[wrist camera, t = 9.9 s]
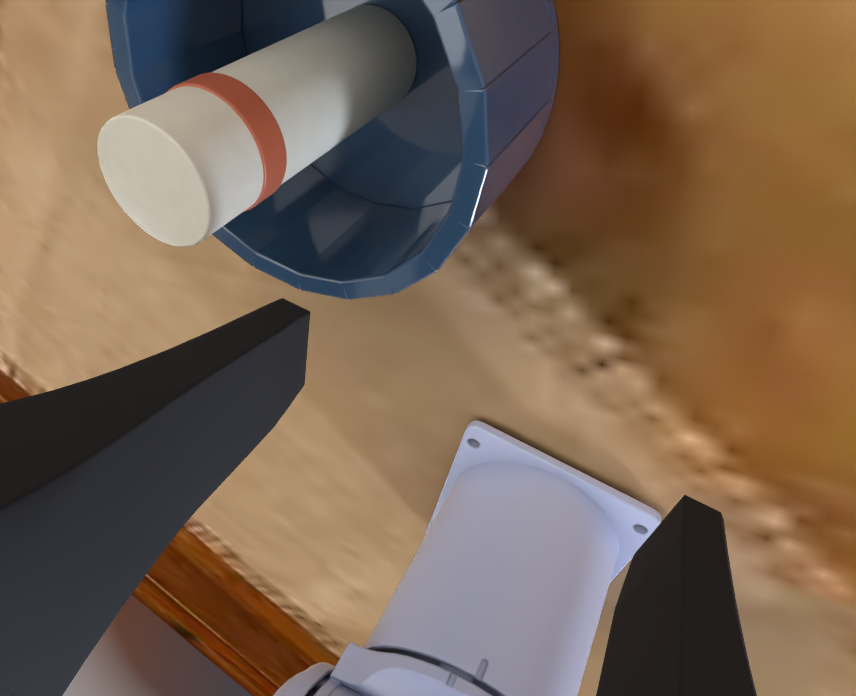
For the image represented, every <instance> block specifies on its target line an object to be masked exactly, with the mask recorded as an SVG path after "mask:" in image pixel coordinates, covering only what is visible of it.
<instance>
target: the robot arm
mask: <svg viewBox="0 0 856 696" xmlns="http://www.w3.org/2000/svg"><path fill="white" fill-rule="evenodd" d="M309 320H310V311H308V310H306V309H304V308H301V307H299V306H297V305H295V304H293V303H291V302H289V301H287V300H285V299H283V298H282V299H279V300H277V301H274V302H272V303H270V304H268V305H266V306H263V307H261V308H259V309H257V310H255V311H253V312H251V313H248V314H246V315H244V316H242V317H240V318H238V319H236V320H233V321H231V322H229V323H227V324H225V325H223V326H220V327H218V328H216V329H214V330H212V331H210V332H207V333H205V334H203V335H201V336H198V337H196V338H194V339H191V340H189V341H187V342H185V343H182V344H180V345H178V346H175V347H173V348H171V349H168V350H166V351H164V352H161V353H159V354H156V355H153V356H151V357H148V358H146V359H143V360H140V361H138V362H135V363H133V364H130V365H128V366H125V367H122V368H120V369H117V370H114V371H112V372H109V373H106V374H103V375H100V376H97V377H94V378H91V379H88V380H85V381H82V382H79V383H76V384H72V385H69V386H66V387H63V388H59V389H56V390H53V391H49V392H45V393H41V394H38V395H34V396H30V397H26V398H22V399H18V400H14V401H10V402H6V403H2V404H0V696H62V695H63V693H64V692H65V691H66V689H67V687H68V686H69V684H70V683H71V681H72V680H73V678H74V676H75V675H76V674H77V672H78V671H79V669H80V668H81V666H82V664H83V663H84V661H85V660H86V658H87V657H88V656H89V654H90V653H91V651H92V650H93V648H94V647H95V645H96V644H97V643H98V641H99V640H100V638H101V637H102V635H103V634H104V632H105V631H106V629H107V628H108V627H109V625H110V623H111V622H112V621H113V619H114V618H115V616H116V615H117V614H118V612H119V611H120V609H121V608H122V607H123V605H124V604H125V602H126V601H127V600H128V598H129V597H130V596H131V594H132V593H133V592H134V590H135V589H136V587H137V586H138V585H139V583H140V582H141V581H142V579H143V578H144V576H145V575H146V574H147V572H148V571H149V570H150V568H151V567H152V566H153V564H154V563H155V562H156V560H157V559H158V558H159V556H160V555H161V554H162V552H163V551H164V550H165V549H166V547H167V546H168V545H169V543H170V542H171V541H172V539H173V538H174V537H175V535H176V534H177V533H178V532H179V530H180V529H181V528H182V527H183V525H184V524H185V523H186V522H187V521H188V520H189V518H190V517H191V516H192V515H193V514H194V513H195V511H196V510H197V509H198V508H199V507H200V506H201V505H202V504H203V503H204V502H205V501H206V499H207V498H208V497H209V496H210V495H211V494H212V493H213V492H214V491H215V490H216V489H217V488H218V487H219V486H220V485H221V483H222V482H223V481H224V480H225V479H226V478H227V477H228V476H229V475H230V474H231V473H232V472H233V471H234V470H235V468H236V467H237V466H238V465H239V464H240V463H241V462H242V461H243V460H244V459H245V458H246V457H247V456H248V455H249V453H250V452H251V451H252V450H253V449H254V448H255V447H256V446H257V445H258V444H259V443H260V442H261V440H262V439H263V438H264V437H265V436H266V435H267V434H268V433H269V432H270V431H271V429H272V428H273V427H274V426H275V425H276V423H277V422H278V421H279V419H280V418H281V417H282V415H283V414H284V413H285V411H286V410H287V409H288V407H289V406H290V404H291V403H292V402H293V400H294V399H295V397H296V396H297V394H298V393H299V391H300V390H301V389H302V387H303V386H304V383H305V370H306V358H307V345H308V332H309ZM474 439H475V440H474ZM661 519H662V518H661V515H660V514H659V512H658V511H656V510H655V509H653V508H652V507H650V506H648V505H646V504H644V503H642V502H640V501H638V500H636V499H634V498H632V497H630V496H628V495H626V494H624V493H622V492H620V491H618V490H616V489H614V488H612V487H610V486H608V485H606V484H604V483H602V482H600V481H598V480H596V479H594V478H592V477H590V476H588V475H586V474H584V473H582V472H580V471H578V470H577V469H575V468H573V467H571V466H569V465H567V464H565V463H563V462H561V461H559V460H557V459H555V458H553V457H551V456H549V455H547V454H545V453H543V452H541V451H539V450H537V449H535V448H533V447H531V446H529V445H527V444H525V443H523V442H521V441H519V440H517V439H515V438H513V437H511V436H509V435H507V434H505V433H503V432H501V431H499V430H498V429H496V428H494V427H492V426H490V425H488V424H486V423H484V422H481V421H472V422H470V423H469V425H468V426H467V428H466V430H465V433H464V435H463V438H462V440H461V443H460V446H459V448H458V451H457V453H456V456H455V458H454V461H453V464H452V466H451V469H450V471H449V474H448V476H447V479H446V481H445V484H444V487H443V489H442V492H441V494H440V497H439V499H438V502H437V505H436V507H435V510H434V512H433V515H432V517H431V520H430V523H429V525H428V528H427V530H426V533H425V538H424V540H423V541H422V543H421V545H420V547H419V549H418V550H417V552H416V554H415V556H414V558H413V559H412V561H411V563H410V565H409V567H408V568H407V570H406V572H405V574H404V576H403V578H402V579H401V581H400V583H399V585H398V587H397V588H396V590H395V592H394V594H393V596H392V597H391V599H390V601H389V603H388V605H387V607H386V608H385V610H384V612H383V614H382V616H381V617H380V619H379V621H378V623H377V625H376V626H375V628H374V630H373V632H372V634H371V635H370V637H369V639H368V641H367V643H366V645H365V646H364V647H361V646H359V645H357V644H355V643H352V642H351V643H349V644H348V646H347V648H346V649H345V651H344V653H343V654H342V656H341V658H340V660H339V661H338V663H337V665H336V667H334V666H333V665H331V664H329V663H325V662H320V663H317V664H315V665H312V666H311V667H309V668H308V669H306V670H305V671H303V672H301V673H298V674H296V675H295V676H293V677H292V678H290V679H289V680H288V681H287V682H285V683H284V684H283V685H282V686H281V687H280V688H279V689H278V691H277V692H276V693H275V694H274V695H273V696H577V694H578V691H579V688H580V684H581V681H582V677H583V674H584V670H585V667H586V663H587V660H588V656H589V653H590V649H591V646H592V642H593V639H594V635H595V632H596V629H597V625H598V622H599V618H600V615H601V611H602V608H603V604H604V601H605V597H606V594H607V590H608V587H609V583H610V582H611V581H612V580H613V579H614V578H615V577H616V576H617V574H618V573H619V572H620V571H621V570H622V569H623V568H624V567H625V565H626V564H627V563H628V562H629V561H630V560H631V559H632V558H633V559H632V561H631V564H630V567H629V570H628V573H627V575H626V578H625V581H624V584H623V587H622V590H621V593H620V596H619V599H618V602H617V605H616V608H615V612H614V616H613V621H612V625H611V630H610V634H609V639H608V643H607V648H606V653H605V657H604V662H603V667H602V671H601V676H600V681H599V685H598V690H597V695H596V696H757V694H756V690H755V686H754V682H753V678H752V674H751V670H750V666H749V661H748V657H747V652H746V648H745V643H744V638H743V634H742V629H741V624H740V620H739V615H738V609H737V604H736V599H735V593H734V587H733V581H732V575H731V569H730V563H729V556H728V549H727V542H726V535H725V527H724V519H723V517H722V514H721V512H719V511H717V510H715V509H713V508H711V507H708V506H706V505H704V504H702V503H700V502H698V501H696V500H694V499H692V498H690V497H688V496H686V495H684V496H683V497H682V499H681V500H680V501H679V502H678V503H677V504H676V506H675V507H674V508H673V509H672V510H671V511H670V513H669V514H668V515H667V516H666V517H665V518H664V520H663V521H662V522H661ZM639 524H640V525H639ZM642 525H643V526H642Z"/></svg>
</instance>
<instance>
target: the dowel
mask: <svg viewBox="0 0 856 696" xmlns="http://www.w3.org/2000/svg"><path fill="white" fill-rule="evenodd" d="M416 64H417V61H416V53H415V48H414V45H413V42H412V39H411V37H410V35H409V33H408V31H407V30H406V28H405V27H404V25H403V24H402V23H401V22H400V21H399V19H398V18H397V17H395V16H394V15H393V14H392V13H390V12H389V11H387V10H385V9H383V8H381V7H378V6H375V5H360V6H356V7H354V8H351V9H349V10H347V11H345V12H343V13H340V14H338V15H336V16H334V17H332V18H329V19H327V20H325V21H323V22H321V23H318V24H316V25H314V26H312V27H310V28H307V29H305V30H303V31H301V32H299V33H296V34H294V35H292V36H290V37H288V38H285V39H283V40H281V41H279V42H277V43H274V44H272V45H270V46H268V47H266V48H263V49H261V50H259V51H257V52H255V53H252V54H250V55H248V56H246V57H244V58H241V59H239V60H237V61H235V62H233V63H230V64H228V65H226V66H224V67H222V68H219V69H217V70H215V71H213V72H211V73H203V74H200V75H197V76H195V77H193V78H191V79H188V80H186V81H184V82H182V83H180V84H177V85H175V86H173V87H172V88H170V89H169V90H168V91H167V92H166V93H164V94H162V95H160V96H158V97H156V98H154V99H151V100H149V101H147V102H145V103H143V104H140V105H138V106H136V107H134V108H132V109H129V110H127V111H125V112H123V113H121V114H118V115H116V116H114V117H112V118H111V119H109V120H108V121H107V122H106V123H105V124H104V125H103V127H102V129H101V130H100V133H99V136H98V142H97V153H98V160H99V164H100V168H101V171H102V174H103V177H104V179H105V181H106V184H107V186H108V188H109V190H110V191H111V193H112V195H113V196H114V198H115V200H116V201H117V202H118V204H119V205H120V207H121V208H122V209H123V210H124V212H125V213H126V214H127V215H128V216H129V217H130V218H131V219H132V221H134V222H135V223H136V224H137V225H138V226H139V227H140V228H141V229H143V230H144V231H145V232H146V233H148V234H149V235H151V236H152V237H154V238H156V239H157V240H159V241H161V242H164V243H166V244H169V245H172V246H177V247H188V246H193V245H196V244H198V243H200V242H201V241H203V240H204V239H206V238H207V237H208V236H210V235H211V234H213V233H214V232H215V231H217V230H218V229H220V228H221V227H222V226H224V225H225V224H227V223H228V222H229V221H231V220H232V219H234V218H235V217H236V216H238V215H239V214H241V213H242V212H244V211H247V210H250V209H252V208H253V207H255V206H256V205H258V204H259V203H260V202H262V201H263V200H265V199H266V198H267V197H269V196H270V195H272V194H273V193H274V192H275V191H276V190H277V189H278V188H279V186H280V185H281V184H283V183H284V182H286V181H287V180H288V179H290V178H291V177H293V176H294V175H295V174H297V173H298V172H300V171H301V170H302V169H304V168H305V167H307V166H308V165H309V164H311V163H312V162H314V161H315V160H316V159H318V158H319V157H321V156H322V155H323V154H325V153H326V152H328V151H329V150H330V149H332V148H333V147H335V146H336V145H337V144H339V143H340V142H342V141H343V140H344V139H346V138H347V137H349V136H350V135H351V134H353V133H354V132H356V131H357V130H358V129H360V128H361V127H363V126H364V125H365V124H367V123H368V122H370V121H371V120H372V119H374V118H375V117H377V116H378V115H379V114H381V113H382V112H384V111H385V110H386V109H388V108H389V107H391V106H392V105H393V104H395V103H396V102H398V101H399V100H400V99H402V98H403V97H404V96H405V95H406V94H407V93H408V91H409V90H410V88H411V86H412V84H413V82H414V79H415V75H416Z"/></svg>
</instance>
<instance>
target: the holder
mask: <svg viewBox="0 0 856 696" xmlns="http://www.w3.org/2000/svg"><path fill="white" fill-rule="evenodd" d="M106 3H107V4H106V12H107V18H108V25H109V32H110V39H111V46H112V53H113V60H114V67H115V68H116V69H117V70H116V74H117V77H118V79H119V82H120V85H121V88H122V90H123V93H124V96H125V98H126V101H127V104H128V107H129V109H132V108H134V107H136V106H138V105H140V104H143V103H145V102H147V101H149V100H151V99H154V98H156V97H158V96H160V95H162V94H164V93H166V92H167V91H168V90H169V89H170V88H172V87H173V86H175V85H177V84H180V83H182V82H184V81H186V80H188V79H191V78H193V77H195V76H197V75H200V74H203V73H211V72H213V71H215V70H217V69H219V68H222V67H224V66H226V65H228V64H230V63H233V62H235V61H237V60H239V59H241V58H244V57H246V56H248V55H250V54H252V53H255V52H257V51H259V50H261V49H263V48H266V47H268V46H270V45H272V44H274V43H277V42H279V41H281V40H283V39H285V38H288V37H290V36H292V35H294V34H296V33H299V32H301V31H303V30H305V29H307V28H310V27H312V26H314V25H316V24H318V23H321V22H323V21H325V20H327V19H329V18H332V17H334V16H336V15H338V14H340V13H343V12H345V11H347V10H349V9H351V8H354V7H356V6H360V5H375V6H378V7H381V8H383V9H385V10H387V11H389V12H390V13H392V14H393V15H394V16H395V17H397V18H398V19H399V21H400V22H401V23H402V24H403V25H404V27H405V28H406V30H407V31H408V33H409V35H410V37H411V39H412V42H413V45H414V48H415V53H416V61H417V64H416V75H415V79H414V82H413V84H412V86H411V88H410V90H409V91H408V93H407V94H406V95H405V96H404V97H403V98H402V99H400V100H399V101H398V102H396V103H395V104H393V105H392V106H391V107H389V108H388V109H386V110H385V111H384V112H382V113H381V114H379V115H378V116H377V117H375V118H374V119H372V120H371V121H370V122H368V123H367V124H365V125H364V126H363V127H361V128H360V129H358V130H357V131H356V132H354V133H353V134H351V135H350V136H349V137H347V138H346V139H344V140H343V141H342V142H340V143H339V144H337V145H336V146H335V147H333V148H332V149H330V150H329V151H328V152H326V153H325V154H323V155H322V156H321V157H319V158H318V159H316V160H315V161H314V162H312V163H311V164H309V165H308V166H307V167H305V168H304V169H302V170H301V171H300V172H298V173H297V174H295V175H294V176H293V177H291V178H290V179H288V180H287V181H286V182H284V183H283V184H281V185H280V186H279V188H278V189H277V190H276V191H275V192H274V193H273V194H272V195H270V196H269V197H267V198H266V199H265V200H263V201H262V202H260V203H259V204H258V205H256V206H255V207H253V208H252V209H250V210H247V211H244V212H242V213H241V214H239V215H238V216H236V217H235V218H234V219H232V220H231V221H229V222H228V223H227V224H225V225H224V226H222V227H221V228H220V229H218V230H217V231H215V232H214V233H213V234H212V235H213V236H215V237H216V238H217V239H218V240H220V241H221V242H222V243H223V244H225V245H226V246H227V247H228V248H230V249H231V250H232V251H233V252H235V253H236V254H237V255H239V256H240V257H241V258H242V259H244V260H245V261H246V262H247V263H249V264H250V265H251V266H254V267H255V268H256V269H258V270H261V271H263V272H265V273H267V274H269V275H271V276H273V277H275V278H277V279H279V280H281V281H283V282H285V283H287V284H289V285H291V286H293V287H295V288H297V289H301V290H302V291H307V292H312V293H317V294H322V295H327V296H332V297H337V298H342V299H350V300H351V299H359V298H367V297H376V296H384V295H392V294H395V293H399V292H400V291H402V290H404V289H406V288H408V287H409V286H411V285H413V284H415V283H417V282H419V281H420V280H422V279H424V278H426V277H428V276H429V275H431V274H433V273H435V272H436V271H437V270H439V269H440V268H441V267H442V265H443V264H444V263H445V262H446V261H447V259H448V258H449V257H450V256H451V255H452V253H453V252H454V251H455V250H456V249H457V247H458V246H459V245H460V244H461V243H462V241H463V240H464V239H465V238H466V236H467V235H468V234H469V233H470V232H471V230H472V229H473V228H474V227H475V226H476V224H477V223H478V222H479V221H480V220H481V218H482V217H483V216H484V215H485V214H486V212H487V211H488V210H489V209H490V208H491V206H492V205H493V204H494V203H495V201H496V200H497V199H498V198H499V197H500V195H501V194H502V193H503V192H504V190H505V189H506V188H507V187H508V185H509V184H510V183H511V181H512V180H513V179H514V178H515V176H516V175H517V174H518V173H519V171H520V170H521V169H522V167H523V166H524V165H525V164H526V162H527V161H528V160H529V158H530V157H531V155H532V153H533V151H534V150H535V148H536V146H537V145H538V143H539V141H540V139H541V136H542V134H543V132H544V129H545V127H546V124H547V122H548V120H549V116H550V112H551V109H552V105H553V101H554V98H555V92H556V85H557V78H558V71H559V36H558V26H557V16H556V10H555V6H554V1H553V0H106Z"/></svg>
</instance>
